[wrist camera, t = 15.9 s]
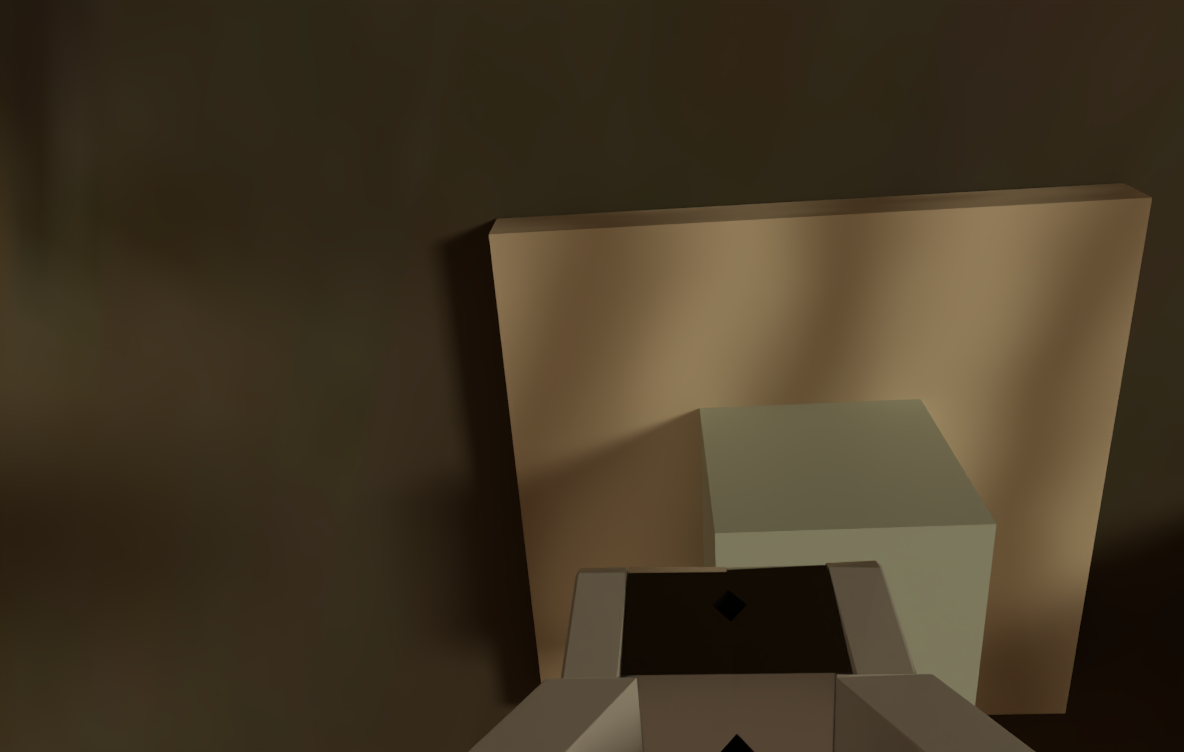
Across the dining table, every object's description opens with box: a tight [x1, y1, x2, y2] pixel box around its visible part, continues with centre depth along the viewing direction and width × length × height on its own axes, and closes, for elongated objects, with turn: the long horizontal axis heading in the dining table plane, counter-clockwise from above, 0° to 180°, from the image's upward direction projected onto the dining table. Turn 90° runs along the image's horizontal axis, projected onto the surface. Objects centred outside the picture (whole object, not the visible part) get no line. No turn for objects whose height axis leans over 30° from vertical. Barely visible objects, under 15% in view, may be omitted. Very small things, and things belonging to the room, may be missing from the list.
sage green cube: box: [700, 399, 996, 706], centre depth 24 cm, size 6×6×6 cm
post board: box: [489, 183, 1152, 715], centre depth 25 cm, size 16×16×6 cm
